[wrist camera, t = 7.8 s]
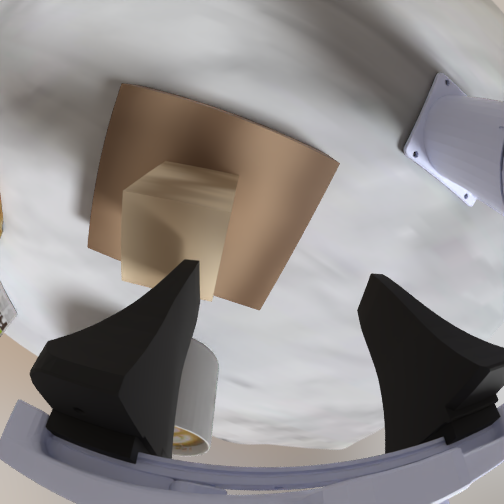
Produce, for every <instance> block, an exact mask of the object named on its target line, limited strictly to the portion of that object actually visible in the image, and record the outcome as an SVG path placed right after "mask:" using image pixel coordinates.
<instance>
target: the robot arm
mask: <svg viewBox="0 0 504 504" xmlns="http://www.w3.org/2000/svg"><path fill="white" fill-rule="evenodd" d="M445 80H446V81H447V85H446V84H445ZM414 152H416V155H415V157H414V156H413V153H414ZM404 154H405V155H406V156H407V157H409V158H410V159H411V160H413V161H414V162H416V163H417V164H418V165H420V166H421V167H422V168H424V169H425V170H426V171H428V172H429V173H430V174H431V175H433V176H434V177H435V178H436V179H438V180H439V181H440V182H441V183H443V184H444V185H445V186H446V187H447V188H449V189H450V190H451V191H452V192H453V193H455V194H456V195H457V196H458V197H459V198H460V199H461V200H462V201H464V202H465V203H466V204H467V205H468V206H472V205H473V204H474V203H475V201H476V199H478V200H480V201H481V202H483V203H485V204H486V205H488V206H489V207H491V208H492V209H494V210H495V211H497V212H498V213H500V214H501V215H503V216H504V101H498V100H492V99H485V98H478V97H469V96H467V95H466V94H465V93H464V92H463V91H462V90H461V89H460V88H459V87H458V86H457V85H456V84H455V83H454V82H452V81H451V80H450V79H449V78H448V77H447V76H446V75H445V74H444V73H437V75H436V77H435V80H434V82H433V85H432V87H431V89H430V92H429V94H428V97H427V99H426V101H425V104H424V106H423V108H422V110H421V113H420V115H419V117H418V119H417V121H416V124H415V126H414V128H413V130H412V132H411V134H410V136H409V139H408V141H407V143H406V145H405V147H404ZM465 194H466V195H465ZM464 195H465V197H464ZM199 305H200V261H199V260H188V259H184V260H183V261H182V262H181V263H180V264H179V265H178V266H177V267H175V268H174V269H173V270H172V271H171V272H170V273H169V274H168V275H167V276H166V277H165V278H164V279H162V280H161V281H160V282H159V283H158V284H157V285H156V286H155V287H153V288H152V289H151V290H150V291H148V292H147V293H146V294H145V295H143V296H142V297H141V298H140V299H138V300H137V301H135V302H134V303H132V304H131V305H129V306H128V307H126V308H125V309H123V310H121V311H120V312H118V313H116V314H114V315H112V316H111V317H109V318H107V319H105V320H103V321H101V322H99V323H97V324H95V325H93V326H90V327H88V328H86V329H83V330H81V331H78V332H76V333H73V334H70V335H67V336H63V337H60V338H57V339H54V340H50V341H48V342H47V343H46V345H45V347H44V348H43V350H42V352H41V353H40V355H39V357H38V358H37V360H36V362H35V363H34V365H33V367H32V369H31V371H30V377H31V380H32V383H33V384H34V386H35V387H36V389H37V390H38V391H39V393H40V394H41V395H42V396H43V398H44V399H45V400H46V401H47V403H48V404H49V405H50V406H51V407H52V408H53V410H52V412H51V414H50V416H49V415H48V414H46V413H45V412H44V411H42V410H40V409H38V408H36V407H34V406H32V405H30V404H28V403H26V402H24V401H22V400H18V401H17V403H16V405H15V407H14V409H13V411H12V413H11V416H10V418H9V420H8V422H7V424H6V427H5V429H4V432H3V434H2V436H1V439H0V459H1V460H2V461H4V462H5V463H7V464H8V465H9V466H11V467H12V468H14V469H15V470H17V471H18V472H20V473H22V474H23V475H25V476H26V477H28V478H30V479H31V480H33V481H34V482H36V483H38V484H39V485H41V486H43V487H45V488H47V489H49V490H50V491H52V492H54V493H56V494H58V495H60V496H62V497H64V498H66V499H68V500H70V501H72V502H75V503H76V504H449V498H451V497H453V496H455V495H456V494H458V493H460V492H462V491H464V490H465V489H467V488H468V487H469V486H470V484H471V483H472V482H474V481H476V480H477V479H479V478H480V477H482V476H483V475H485V474H487V473H488V472H489V471H491V470H492V469H494V468H495V467H496V466H498V465H499V464H501V463H502V462H504V404H502V405H501V406H499V407H498V408H496V406H495V403H496V402H497V401H498V398H497V395H496V393H497V392H498V391H499V390H500V389H501V388H502V387H503V386H504V348H503V347H499V346H497V345H493V344H491V343H488V342H486V341H483V340H481V339H479V338H477V337H474V336H472V335H470V334H468V333H466V332H465V331H463V330H461V329H459V328H457V327H455V326H454V325H452V324H451V323H449V322H447V321H446V320H444V319H443V318H441V317H440V316H438V315H437V314H435V313H434V312H433V311H431V310H430V309H429V308H427V307H426V306H424V305H423V304H422V303H421V302H419V301H418V300H417V299H415V298H414V297H413V296H412V295H410V294H409V293H408V292H407V291H405V290H404V289H403V288H402V287H400V286H399V285H398V284H396V283H395V282H394V281H392V280H391V279H390V278H388V277H386V276H385V275H383V274H371V275H370V278H369V281H368V283H367V286H366V289H365V292H364V294H363V297H362V299H361V302H360V305H359V307H358V310H357V311H358V316H359V321H360V325H361V329H362V332H363V335H364V338H365V341H366V344H367V346H368V349H369V352H370V355H371V357H372V360H373V363H374V366H375V369H376V372H377V376H378V380H379V385H380V390H381V395H382V402H383V410H384V421H385V454H382V455H378V456H374V457H368V458H363V459H358V460H351V461H345V462H338V463H330V464H321V465H311V466H297V467H235V466H221V465H211V464H202V463H194V462H187V461H180V460H174V459H172V448H173V435H174V426H175V416H176V408H177V401H178V394H179V387H180V381H181V375H182V371H183V366H184V363H185V359H186V356H187V352H188V349H189V346H190V342H191V339H192V336H193V332H194V329H195V326H196V322H197V317H198V311H199ZM323 486H325V487H323ZM315 487H323V488H319V489H311V490H303V491H296V492H286V493H274V494H258V495H227V491H226V490H224V489H231V490H291V489H305V488H315Z"/></svg>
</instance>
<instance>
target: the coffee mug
mask: <svg viewBox="0 0 504 504" xmlns="http://www.w3.org/2000/svg"><path fill="white" fill-rule="evenodd" d="M218 371H219V364H218V361H217V358H216V357H215V355H214V354H213V352H212V351H211V350H210V349H209V348H207V347H206V346H205V345H203V344H202V343H200V342H198V341H197V340H195V339H193V338H192V339H191V342H190V346H189V349H188V352H187V356H186V359H185V363H184V366H183V371H182V375H181V381H180V387H179V394H178V401H177V408H176V416H175V426H174V435H173V448H172V455H176V456H197V455H202V454H204V453H206V452H208V451H209V449H210V446H211V438H212V428H213V418H214V408H215V399H216V389H217V380H218Z"/></svg>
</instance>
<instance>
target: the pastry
mask: <svg viewBox="0 0 504 504" xmlns="http://www.w3.org/2000/svg"><path fill="white" fill-rule="evenodd" d="M2 224H3V212H2V204H1V195H0V237H1V235H2V232H3V231H2Z"/></svg>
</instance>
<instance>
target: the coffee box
mask: <svg viewBox="0 0 504 504" xmlns="http://www.w3.org/2000/svg"><path fill="white" fill-rule="evenodd" d="M16 316H17V312H16V311H15V309H14V307H13V305H12V304H11V302H10V300H9V298H8V296H7V294H6V292H5V290H4V288H3V286H2V284H1V282H0V337H1V335H2V334H3V333H4V331H5V330H6V329H7V327H8V326H9V325H10V323H11V322H12V321H13V320H14V318H15V317H16Z"/></svg>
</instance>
